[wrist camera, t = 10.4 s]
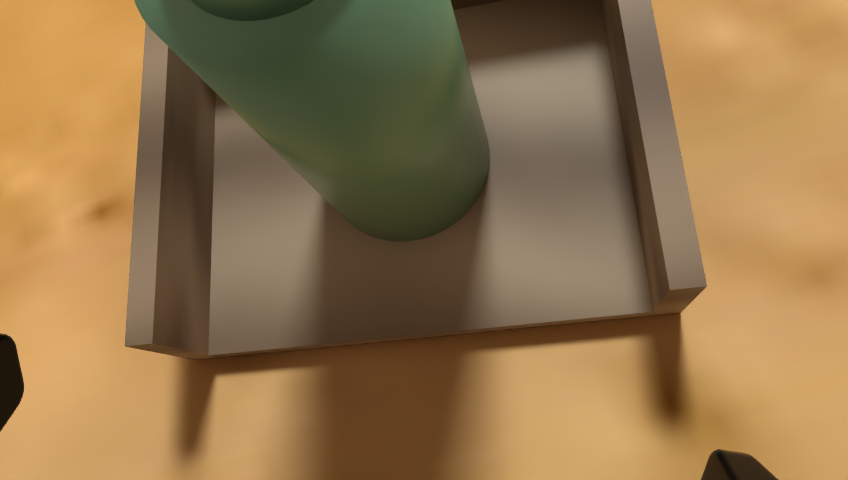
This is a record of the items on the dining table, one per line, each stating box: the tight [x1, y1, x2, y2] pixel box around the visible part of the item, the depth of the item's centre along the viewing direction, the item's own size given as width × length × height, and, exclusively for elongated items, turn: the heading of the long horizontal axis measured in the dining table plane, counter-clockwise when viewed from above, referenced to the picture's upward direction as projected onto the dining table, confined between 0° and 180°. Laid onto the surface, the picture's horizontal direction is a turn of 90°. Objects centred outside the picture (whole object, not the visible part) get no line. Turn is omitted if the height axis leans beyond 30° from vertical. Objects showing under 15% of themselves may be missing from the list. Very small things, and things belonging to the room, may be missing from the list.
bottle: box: [135, 0, 490, 242], centre depth 14 cm, size 5×5×14 cm
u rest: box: [125, 0, 707, 360], centre depth 19 cm, size 12×15×4 cm
